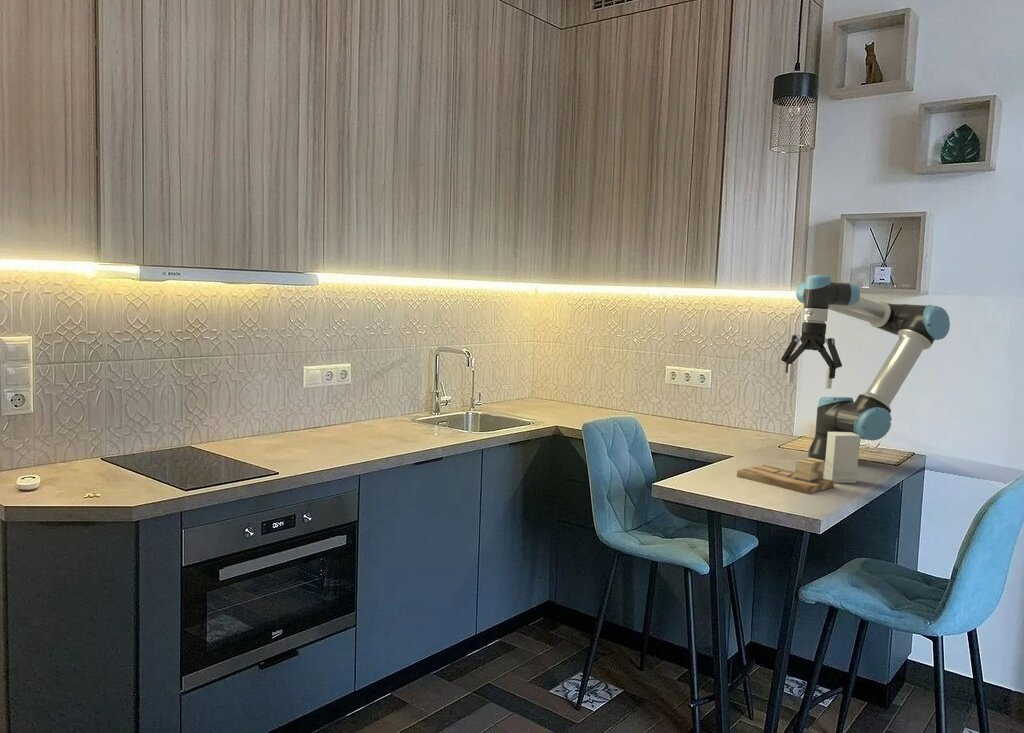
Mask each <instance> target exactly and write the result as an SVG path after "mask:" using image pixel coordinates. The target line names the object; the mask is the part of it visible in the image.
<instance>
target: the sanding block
mask: <svg viewBox="0 0 1024 733" xmlns="http://www.w3.org/2000/svg"><path fill="white" fill-rule="evenodd" d="M824 470H825V461H823V460H819V459H814V458H809V457H805V458H800V459H796V461H795V470H794V472H795V480H800V481H804V482H808V483H812V482H816V481H820V480H823V478H824Z"/></svg>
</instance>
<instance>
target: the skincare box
mask: <svg viewBox="0 0 1024 733" xmlns="http://www.w3.org/2000/svg"><path fill="white" fill-rule="evenodd" d="M860 437H861V436H859V435H857V434H855V433H852V432H828V435H827V447H826V458H825V462H824V472H823V478H824V479H829V480H833V481H834V484H836V483H837V484H856V483H857V477H858V465H859V455H860V443H861V439H860Z"/></svg>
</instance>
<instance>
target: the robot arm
mask: <svg viewBox="0 0 1024 733" xmlns="http://www.w3.org/2000/svg"><path fill="white" fill-rule="evenodd" d="M795 295H796V298H797V300H798V302H800V303H801V304H803V313H802V315H803V316H802V320H803V321H804V322H802V323H801V324H802V325H801V336H800V335H799V334H793V335H792V337H791V340H790V343H789V344H788V347H787V348H786V349H785V351H784V353H783V354H782V357H781V359H780V360H781V361H782V362H784V363H785V364H786V365H785V373H786V374H787V376H786V377H787V378H786V383H787V384H793V383H794V378H795V377H794V376H795V367H796V366H795V365H796V364H795V363H794V362H795V361H796V360H797V359H798V358H799V357H800V356H801V355H802V354H803V352H805V351H806V350H811V351H817V352H818V353H819V354H820V355H821V357H822V358H823V359H824V361H825V363H826V364H827V366H828V368H826V375H825V384H824V385H825V386H824V388H825V389H828V390H829V389H832V385H833V380H834V379H835V377H836V369H838V368H839V369H840V368H842V367H843V364H842V361H841V359H840V355H839V353H838V350H837V348H836V347H837V346H836V344H835V343H836V341H835V338H834V337H828V338H826V334H827V333H826V332H827V323H826V322H827V321H828V313H829V312H828V310H830V311H833V312H836V313H839V314H841V315H845V316H849V317H851V318H855V319H858V320H861V321H863V322H868V323H869V325H870V326H872V327H874V328H876V329H878V330H879V329H880V330H882V331H884V332H887V333H890V334H893V335H896V336H898V340H897V342H896V343H895V345H894V346H893V348H892V350H891V351H890V353H889V354H888V356H887V357H886V358H885V359H886V360H885V361H884V363H883V364H882V366H881V367H880V369H879V370H878V372H877V374H876V376H875V377H874V379H873V380H872V382H871V384H870V385H869V387H868V389H867V390H866V391H865V392H864V393H860V394H859V395H858V396H857V397H856V399H855V401H854V399H853V397H847V396H845V397H843V396H822V397H820V398H819V400H818V402H817V407H816V408H817V409H816V421H815V433H814V434H815V435H814V438H813V440H812V443H811V444H810V447H809V449H808V454H807V458H814V459H819V460H823V461H825V458H826V447H827V435H828V432H852V433H855V434H857V435H859V436H861V437H860V440H864V441H865V440H867V441H877V440H881V439H882V438H883V437H885V436H886V435H887V434H888V432H889V431H890V429H891V426H892V415H891V414H892V413H891V412H892V409H891V404H892V402H893V400H894V399H895V397H896V396H897V394H898V392H899V390H900V388H901V387H902V386H903V384H904V383H905V381H906V379H907V377H908V376H909V374H910V373H911V370H912V369H913V367H914V366H915V364H916V362H917V361H918V359H919V357H920V356H921V354H922V353H923V351H925V350H929V349H930V348H931V347H932V346H933V344H934V342H935V341H940V340H943V339H944V338H946V337H947V336H948V334H949V331H950V328H951V321H950V316H949V314H948V312H947V311H946V309H945V308H943V307H941V306H938V305H933V304H928V305H925V304H924V305H923V304H907V303H889V302H885V301H879V302H876V301H873V300H870V299H868V298H864V297H861V290H860V288H859V286H858V285H857V284H856V283H849V282H832V277H831V276H830V275H824V274H810V275H808V276H807V277H806V282H802V283H800V284H799V286H797V288H796V292H795ZM799 342H801V343H800V345H798V343H799ZM825 344H826V345H827V347H828V348H826V347H825ZM797 345H798V348H797V349H796V347H797ZM827 349H828V350H829V353H830V354H829V353H828V351H827Z"/></svg>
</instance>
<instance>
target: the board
mask: <svg viewBox="0 0 1024 733" xmlns="http://www.w3.org/2000/svg"><path fill="white" fill-rule="evenodd" d="M736 477H738V478H742V479H746V480H750V481H754V482H757V483H758V482H759V483H762V484H767V485H771V486H775V487H779V488H782V489H785V490H790V491H794V492H797V493H798V492H799V493H803V494H805V495H806V494H807V495H808V494H812V493H815V492H820V491H824V490H828V489H831V488H834V487H835V483H834V481H833V480H829V479H825V478H824V477H823V480H820V481H816V482H812V483H808V482H804V481H800V480H795V470H794V471H792V470H789V469H785V468H780V467H775V466H772V465H771V466H770V465H766V464H762V465H757V466H753V467H752V466H751V467H746V468H742V469H738V470H736Z"/></svg>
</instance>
